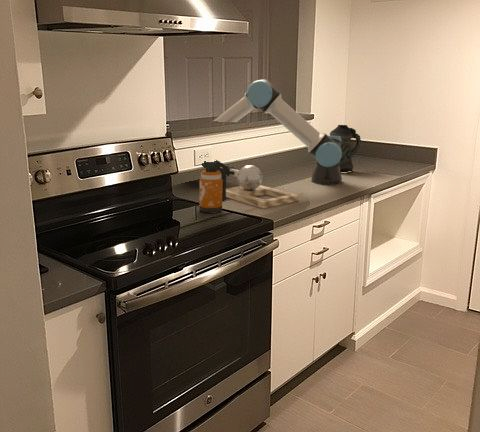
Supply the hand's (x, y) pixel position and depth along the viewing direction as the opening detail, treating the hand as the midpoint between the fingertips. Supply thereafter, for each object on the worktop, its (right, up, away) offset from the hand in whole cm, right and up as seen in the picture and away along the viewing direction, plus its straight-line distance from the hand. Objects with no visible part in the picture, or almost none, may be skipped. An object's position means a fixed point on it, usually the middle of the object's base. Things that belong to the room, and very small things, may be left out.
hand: (240, 174), depth 244 cm
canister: (-11, -17, -28) cm, 34 cm away
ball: (+4, -2, -4) cm, 6 cm away
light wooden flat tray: (+7, -11, -5) cm, 14 cm away
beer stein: (+55, +6, +59) cm, 81 cm away
